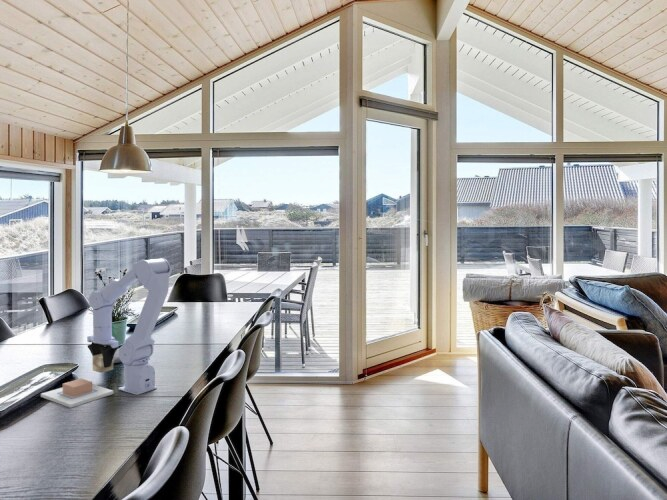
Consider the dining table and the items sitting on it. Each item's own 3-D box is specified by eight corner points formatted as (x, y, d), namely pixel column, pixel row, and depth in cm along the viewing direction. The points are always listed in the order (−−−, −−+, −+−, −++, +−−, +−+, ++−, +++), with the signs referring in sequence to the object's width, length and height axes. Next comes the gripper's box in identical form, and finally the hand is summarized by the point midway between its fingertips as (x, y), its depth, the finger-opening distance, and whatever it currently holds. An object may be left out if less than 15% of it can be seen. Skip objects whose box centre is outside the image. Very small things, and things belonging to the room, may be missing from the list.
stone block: (141, 363, 194) (128, 353, 200) (142, 352, 193) (129, 343, 199) (111, 370, 185) (99, 360, 191) (112, 359, 184) (100, 349, 190)
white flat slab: (113, 393, 154) (113, 381, 154) (70, 407, 142) (70, 394, 142) (83, 384, 162) (83, 372, 162) (40, 396, 150) (40, 384, 150)
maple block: (113, 369, 166) (113, 354, 165) (100, 372, 162) (100, 358, 161) (105, 367, 168) (104, 352, 168) (92, 370, 164) (92, 355, 164)
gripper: (126, 326, 164) (126, 366, 165) (100, 321, 171) (100, 359, 172) (107, 330, 158) (108, 371, 158) (81, 325, 165) (81, 364, 166)
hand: (103, 365), depth 165 cm, fingers closed on maple block, 5 cm apart
